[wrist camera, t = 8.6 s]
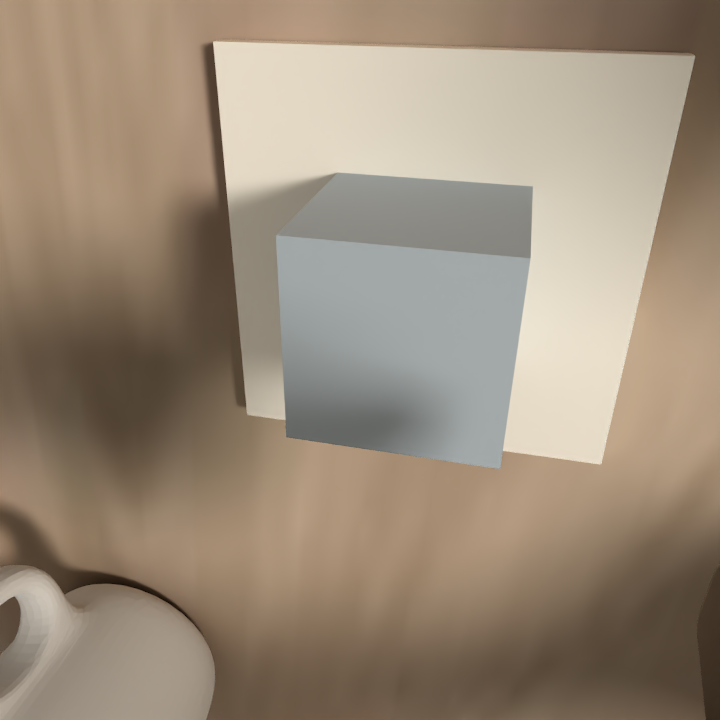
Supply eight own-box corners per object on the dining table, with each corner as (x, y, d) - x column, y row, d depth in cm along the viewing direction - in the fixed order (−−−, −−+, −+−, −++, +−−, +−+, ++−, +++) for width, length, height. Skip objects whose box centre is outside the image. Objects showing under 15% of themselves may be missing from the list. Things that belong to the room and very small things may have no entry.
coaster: (690, 53, 12) (695, 55, 12) (599, 452, 17) (600, 464, 16) (223, 39, 14) (212, 41, 14) (253, 404, 19) (247, 415, 18)
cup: (-32, 492, 23) (-268, 707, 16) (170, 481, 21) (-10, 729, 14) (95, 699, 28) (-48, 933, 21) (272, 710, 25) (174, 979, 19)
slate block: (532, 186, 14) (530, 258, 10) (508, 360, 16) (499, 469, 12) (338, 172, 14) (275, 234, 11) (339, 340, 16) (286, 436, 13)
